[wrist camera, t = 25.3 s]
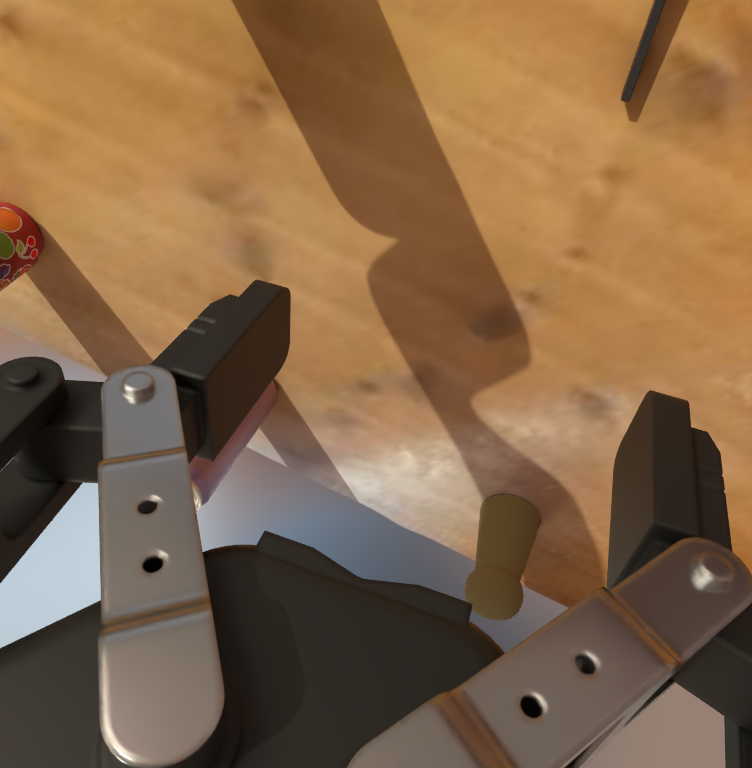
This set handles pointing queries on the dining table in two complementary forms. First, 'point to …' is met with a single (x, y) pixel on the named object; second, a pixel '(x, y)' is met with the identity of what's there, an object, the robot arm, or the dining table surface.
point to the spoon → (642, 49)
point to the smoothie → (17, 243)
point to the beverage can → (229, 450)
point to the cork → (501, 556)
